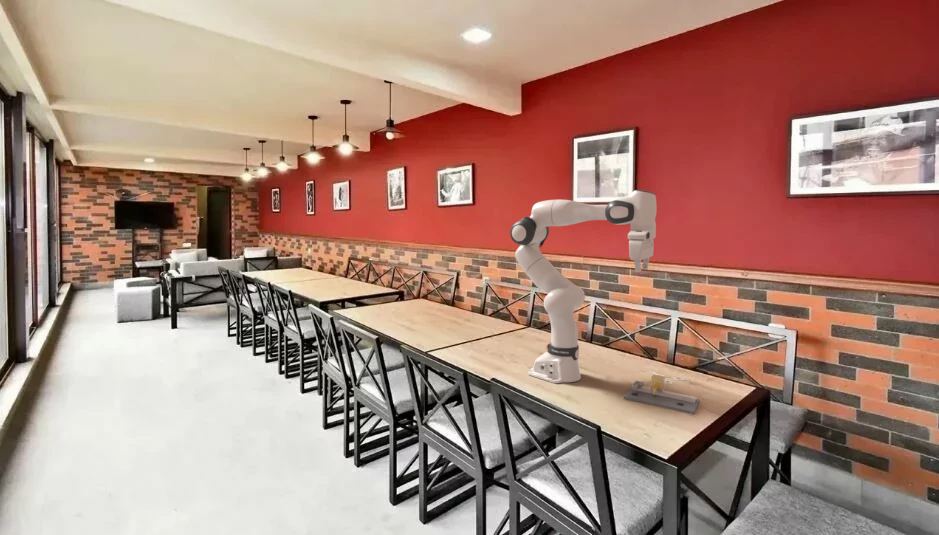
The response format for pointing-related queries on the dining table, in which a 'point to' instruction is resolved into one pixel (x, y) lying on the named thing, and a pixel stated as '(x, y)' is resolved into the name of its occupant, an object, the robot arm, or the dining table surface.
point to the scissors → (668, 377)
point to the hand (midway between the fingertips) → (641, 270)
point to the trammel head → (657, 383)
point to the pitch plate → (662, 398)
